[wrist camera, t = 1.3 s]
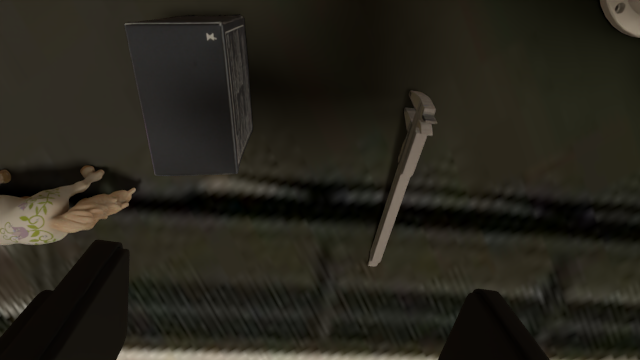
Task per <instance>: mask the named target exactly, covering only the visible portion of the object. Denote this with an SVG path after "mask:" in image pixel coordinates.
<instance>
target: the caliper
mask: <svg viewBox="0 0 640 360" xmlns="http://www.w3.org/2000/svg"><path fill="white" fill-rule="evenodd" d="M409 96H410V98H411V101H412V103H413V105H414V108H415V109H414V108H407V107H405V108H404V116H405V122H406V128H407V135H406V138H405V139H404V141H403V143H402V145H401V149H400V153H399V155H398V158H397V162H398V167H397V170H396V173H395V176H394V180H393V183H392V186H391V189H390V192H389V195H388V198H387V201H386V204H385V207H384V211H383V214H382V217H381V220H380V223H379V226H378V229H377V232H376V235H375V238H374V241H373V244H372V247H371V250H370V259H369V261H368V266H377V264H378V263H380V261H381V258H382V256H383V253H384V250H385V247H386V244H387V241H388V239H389V236H390V233H391V230H392V227H393V224H394V222H395V219H396V216H397V213H398V210H399V207H400V205H401V202H402V199H403V196H404V193H405V190H406V187H407V185H408V182H409V179H410V176H413V173H414V170H415V168H416V165H417V162H418V159H419V157H420V154H421V151H422V148H423V146H424V143H425V140H426V137H427V136H432V135H433V133H432V125H431V124H437V121H436V119H435V117H434V113H435V110H436V109H435V107H434V105H433V103H432V101H431V99H430V98H429V97H428V96H426V95H425V94H424V93H422V92H419V91H412V90H411V91H410V92H409Z"/></svg>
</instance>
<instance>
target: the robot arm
mask: <svg viewBox="0 0 640 360" xmlns="http://www.w3.org/2000/svg"><path fill="white" fill-rule="evenodd" d="M600 5H601V8H602V10H603V12H604V14H605V17H606V18H607V19H608V21H609V22H610V23H611V24H612V26H613V27H615V28H616V29H617V30H619V31H620V32H621V33H624V34H626V35H629V36H631V37H637V38H640V0H600ZM128 287H129V250H127V249H123V247H122V244H121V243H119V242H111V241H103V240H95V241H94V242H93V243H92V244H91V246H90V247H89V248H88V249H87V250H86V252H85V253H84V254H83V255H82V257H81V258H80V259H79V260H78V261H77V263H76V264H75V265H74V266H73V268H72V269H71V270H70V271H69V272H68V274H67V275H66V276H65V277H64V279H63V280H62V281H61V282H60V283H59V285H58V286H57V287H56V288H55V290H54V291H51V290H44V291H42V292H40V293H39V294H38V295H37V296H36V297H35V298H34V299H33V300H32V302H31V303H30V304H29V305H28V306H27V307H26V309H25V310H24V311H23V312H22V313H21V314H20V315H19V317H18V318H17V319H16V320H15V321H14V322H13V324H12V325H11V326H10V327H9V328H8V329H7V330H6V332H5V333H4V334H3V335H2V336H1V337H0V360H116V359H117V357H118V355H119V353H120V351H121V348H122V346H123V344H124V341H125V338H126V334H127V321H128ZM438 360H549V358H548V357H547V356H546V354H545V353H544V352H543V350H542V349H541V348H540V346H539V345H538V344H537V342H536V341H535V340H534V338H533V337H532V336H531V334H530V333H529V332H528V330H527V329H526V328H525V326H524V325H523V324H522V322H521V321H520V320H519V318H518V317H517V316H516V314H515V313H514V312H513V311H512V309H511V308H510V307H509V305H508V304H507V303H506V301H505V300H504V299H503V297H502V296H501V295H500V294H499V293H498V292H497V291H492V290H484V289H476V290H474V291H473V293H470V294H468V296H467V297H466V300H465V302H464V304H463V306H462V308H461V311H460V313H459V315H458V317H457V319H456V321H455V324H454V326H453V328H452V330H451V332H450V335H449V337H448V339H447V341H446V343H445V345H444V348H443V350H442V352H441V354H440V356H439V359H438Z"/></svg>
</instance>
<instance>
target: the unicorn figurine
mask: <svg viewBox="0 0 640 360" xmlns="http://www.w3.org/2000/svg"><path fill="white" fill-rule="evenodd" d="M104 173H105V172H104V171H103V170H97V171H96V172H95V169H94V167H93V166H90V165H85V166H84V167H83V168H82V169H81V174H82V175H83V177H84V178H85V179H84V180H83V181H79V182H77V183H75V184H73V185H69V186H62V187H58V188H55V189H49V190H44V191H41V192H39V193H37V194H35V195H33V196H31V197H29V196H24V197H21V198H19V197H15V196H9V195H0V245H8V244H15V243H22V244H27V245H39V244H46V243H52V242H55V241H58V240H61V239H63V238H64V237H65V236H66V235H67V234H68V233H75V232H78V231H80V230H89V229H91V228H93V227H94V225H95V224H96V223H97V222H98V220H99V219H106V218H107V216H108V215H111V214H114V213H117V212H118V211H120V210H121V209H123V208H126V207H127V206H128V205H129V204H128V202H129V201H130V199H131V197H132V196H131V195H132V194H133V193H134V192H135V191H136V189H135V188H132V189H130V190H129V191H125V190H120V191H116V192H113V193H111V194H110V195H106V194H99V195H96V196H93V197H90V198H84V199H82V200H80V201H79V202H78V203H77V204H76V206H74V207H73V208H71V209H70V210H69V198H70V197H71V196H73V195H74V194H76V193H80V192H84V191H85V190H86V189H87V188H88V187H89V186H90V184H91V183H92V182H96V181H99V180H100V179H102V176H103V175H104ZM10 180H11V175H10V173H9V172H8V171H7V170H1V171H0V184H1V183H8V182H9V181H10ZM68 210H69V211H68Z"/></svg>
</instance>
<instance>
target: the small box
mask: <svg viewBox="0 0 640 360" xmlns="http://www.w3.org/2000/svg"><path fill="white" fill-rule="evenodd" d="M244 22H245V21H244V18H243V17H242V16H241V15H240V14H239V15H232V16H226V15H224V16H221V15H219V16H195V15H192V16H190V15H189V16H179V17H170V18H163V19H155V20H147V21H140V22H128V23H126V24H125V31H126V35H127V40H128V45H129V50H130V55H131V59H132V64H133V69H134V74H135V79H136V83H137V88H138V93H139V98H140V103H141V107H142V112H143V118H144V123H145V127H146V132H147V137H148V142H149V147H150V153H151V158H152V163H153V168H154V173H155V175H157V176H180V175H219V174H237V173H238V171H239V165H240V161H241V159H242V156H243V153H244V150H245V148H246V145H247V143H248V140H249V138H250V135H251V133H252V131H253V124H252V110H251V95H250V83H249V70H248V69H249V66H248V57H247V44H246V33H245V23H244Z"/></svg>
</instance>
